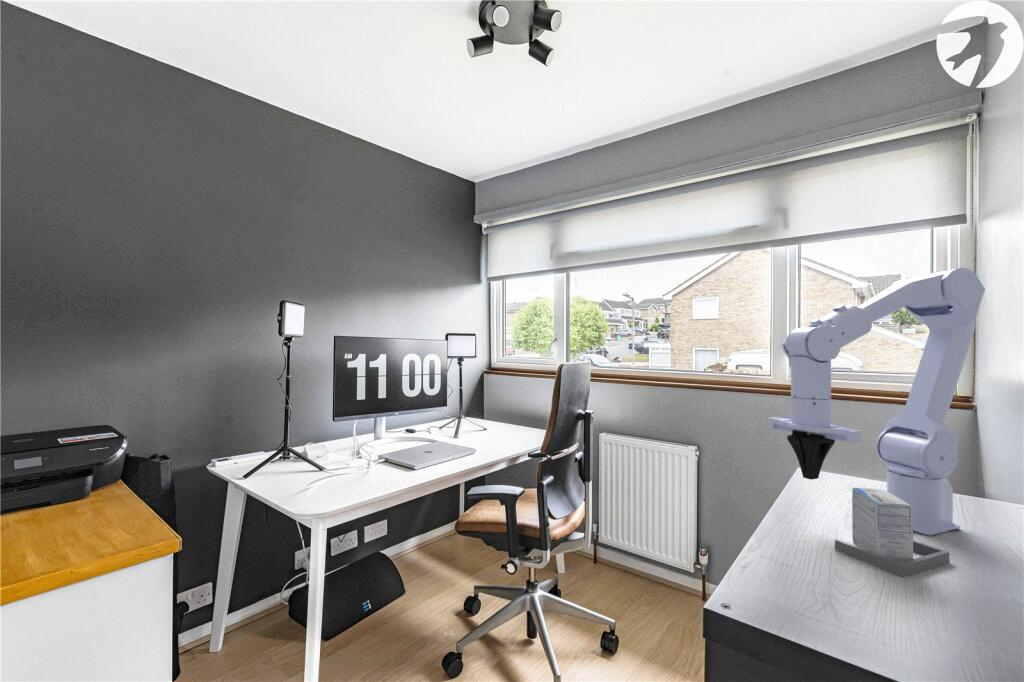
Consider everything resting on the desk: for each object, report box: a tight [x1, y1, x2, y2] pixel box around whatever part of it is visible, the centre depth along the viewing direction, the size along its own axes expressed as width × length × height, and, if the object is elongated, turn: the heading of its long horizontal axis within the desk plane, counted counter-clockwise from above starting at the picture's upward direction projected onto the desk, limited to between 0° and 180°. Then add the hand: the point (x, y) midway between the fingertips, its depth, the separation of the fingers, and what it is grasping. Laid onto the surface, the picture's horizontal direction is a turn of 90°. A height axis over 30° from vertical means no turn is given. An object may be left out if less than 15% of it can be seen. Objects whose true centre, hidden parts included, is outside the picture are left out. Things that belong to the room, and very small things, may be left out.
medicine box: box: [851, 487, 914, 563], centre depth 66 cm, size 8×4×9 cm, turn 164°
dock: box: [834, 538, 950, 578], centre depth 66 cm, size 11×9×2 cm
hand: (810, 478), depth 77 cm, fingers closed
